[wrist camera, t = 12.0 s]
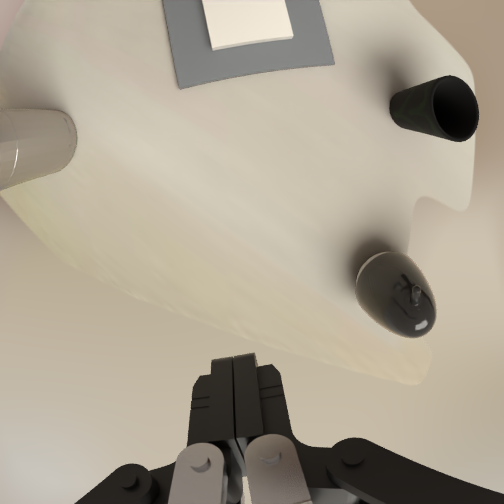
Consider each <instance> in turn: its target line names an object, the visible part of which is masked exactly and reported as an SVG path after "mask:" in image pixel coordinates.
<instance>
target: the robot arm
mask: <svg viewBox="0 0 504 504" xmlns="http://www.w3.org/2000/svg"><path fill="white" fill-rule="evenodd" d="M76 144H77V134H76V129H75V125H74V123H73V121H72V120H71V118H70V117H69V116H68V115H67V114H65V113H64V112H61V111H58V110H43V109H0V191H1V190H3V189H6V188H9V187H12V186H15V185H17V184H20V183H23V182H26V181H29V180H32V179H35V178H39V177H42V176H45V175H48V174H52V173H55V172H57V171H60V170H61V169H63V168H64V167H65V166H66V165H67V164H68V163H69V162H70V160H71V159H72V157H73V155H74V152H75V149H76ZM243 476H247V478H248V484H249V489H250V494H251V501H252V504H504V494H502V493H499V492H495V491H492V490H489V489H486V488H483V487H480V486H477V485H474V484H471V483H468V482H465V481H462V480H459V479H457V478H454V477H451V476H449V475H446V474H444V473H441V472H439V471H436V470H434V469H431V468H429V467H426V466H424V465H421V464H419V463H417V462H414V461H412V460H410V459H407V458H405V457H403V456H400V455H398V454H396V453H394V452H392V451H390V450H387V449H385V448H383V447H381V446H378V445H377V444H375V443H373V442H371V441H368V440H366V439H363V438H348V439H344V440H342V441H340V442H338V443H336V444H335V445H334V446H333V447H332V448H323V447H311V446H307V445H305V444H303V443H301V442H300V441H298V440H297V439H296V438H295V436H294V435H293V433H292V430H291V425H290V420H289V415H288V410H287V405H286V400H285V395H284V390H283V385H282V380H281V375H280V372H279V371H278V370H277V369H276V368H275V367H274V366H273V365H272V364H270V365H264V366H259V367H258V364H257V360H256V356H255V353H249V354H244V355H238V356H234V358H233V357H227V358H220V359H214V360H212V362H211V374H210V375H203V376H200V377H199V378H198V380H197V381H196V383H195V384H194V386H193V391H192V401H191V410H190V420H189V430H188V442H187V447H186V448H185V449H184V450H183V451H182V452H181V453H180V454H179V455H178V457H177V460H176V461H175V462H174V463H172V464H170V465H167V466H164V467H161V468H158V469H154V470H150V471H148V470H147V469H146V468H145V467H143V466H141V465H138V464H126V465H123V466H121V467H119V468H117V469H116V470H115V471H114V472H113V473H111V474H110V475H109V476H108V477H107V478H106V479H104V480H103V481H102V482H101V483H99V484H98V485H97V486H96V487H95V488H93V489H92V490H91V491H90V492H88V493H87V494H86V495H85V496H83V497H82V498H81V499H80V500H78V501H77V502H76V503H75V504H244V493H243V483H242V477H243Z"/></svg>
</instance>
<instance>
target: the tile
mask: <svg viewBox="0 0 504 504" xmlns="http://www.w3.org/2000/svg"><path fill="white" fill-rule="evenodd" d="M202 2H203V7H204V12H205V16H206V21H207V26H208V31H209V36H210V40H211V45H212V50H213V51H214V50H219V49H225V48H230V47H236V46H241V45H248V44H254V43H261V42H269V41H277V40H286V39H292V38H293V36H294V35H293V31H292V27H291V23H290V19H289V15H288V11H287V8H286V4H285V0H202Z"/></svg>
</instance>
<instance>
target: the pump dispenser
mask: <svg viewBox="0 0 504 504" xmlns="http://www.w3.org/2000/svg"><path fill="white" fill-rule="evenodd" d="M356 298H357V301H358V303H359V305H360V306H361V308H362V309H363V310H364V312H365V313H366V314H367V315H368V316H369V317H371V318H372V319H373V320H374V321H375V322H376V323H378V324H379V325H380V326H382V327H383V328H385V329H387V330H388V331H390V332H392V333H394V334H396V335H399V336H402V337H406V338H419V337H422V336H424V335H426V334H427V333H428V332H429V331H430V330H431V329H432V327H433V326H434V324H435V321H436V314H437V309H436V302H435V298H434V295H433V292H432V290H431V287H430V285H429V283H428V281H427V280H426V278H425V276H424V274H423V273H422V271H421V270H420V269H419V267H418V266H417V264H416V263H415V262H414V261H413V260H412V259H411V258H409V257H408V256H407V255H405V254H403V253H400V252H382V253H378V254H376V255H374V256H372V257H371V258H369V259H368V260H367V261H366V262H365V263H364V264H363V265H362V267H361V269H360V270H359V273H358V275H357V279H356Z"/></svg>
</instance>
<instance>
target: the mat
mask: <svg viewBox="0 0 504 504" xmlns="http://www.w3.org/2000/svg"><path fill="white" fill-rule="evenodd" d="M163 4H164V10H165V15H166V21H167V27H168V32H169V38H170V43H171V48H172V54H173V59H174V64H175V69H176V74H177V79H178V84H179V89H184V88H188V87H192V86H197V85H201V84H205V83H210V82H214V81H219V80H224V79H229V78H234V77H240V76H245V75H251V74H257V73H264V72H271V71H278V70H286V69H294V68H304V67H314V66H327V65H334V64H335V62H334V58H333V53H332V49H331V45H330V41H329V37H328V33H327V29H326V25H325V21H324V17H323V14H322V10H321V6H320V3H319V0H285V4H286V8H287V11H288V15H289V19H290V23H291V27H292V31H293V35H294V36H293V38H292V39H286V40H277V41H269V42H261V43H254V44H248V45H241V46H236V47H230V48H225V49H219V50H214V51H213V50H212V45H211V40H210V36H209V31H208V26H207V21H206V16H205V12H204V7H203V2H202V0H163Z"/></svg>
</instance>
